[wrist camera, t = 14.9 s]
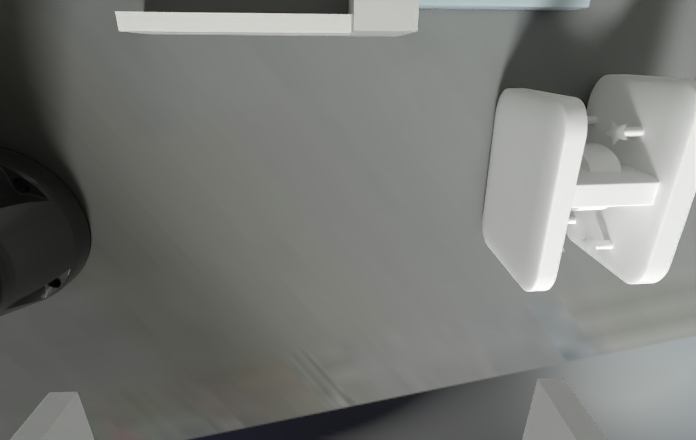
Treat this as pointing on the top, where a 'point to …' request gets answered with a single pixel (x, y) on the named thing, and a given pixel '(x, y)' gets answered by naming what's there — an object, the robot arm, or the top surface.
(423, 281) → the top surface
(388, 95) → the top surface
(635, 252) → the cable organizer
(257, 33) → the bay
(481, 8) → the tray
